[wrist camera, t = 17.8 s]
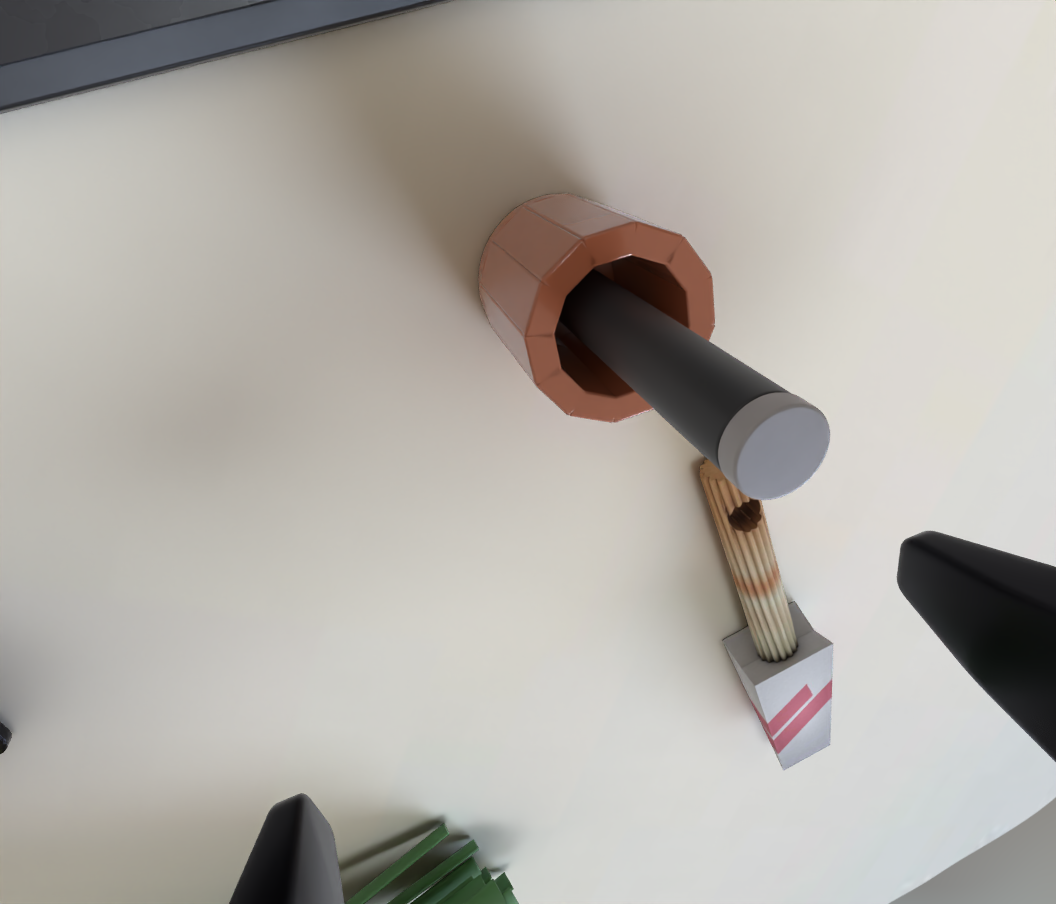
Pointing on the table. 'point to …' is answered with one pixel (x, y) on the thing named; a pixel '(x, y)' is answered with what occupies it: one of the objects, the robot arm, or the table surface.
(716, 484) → the paintbrush
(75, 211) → the table surface
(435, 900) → the daffodil flowers
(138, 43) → the tablet
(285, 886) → the robot arm
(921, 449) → the table surface
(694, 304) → the pen cup
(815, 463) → the stylus
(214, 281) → the table surface
